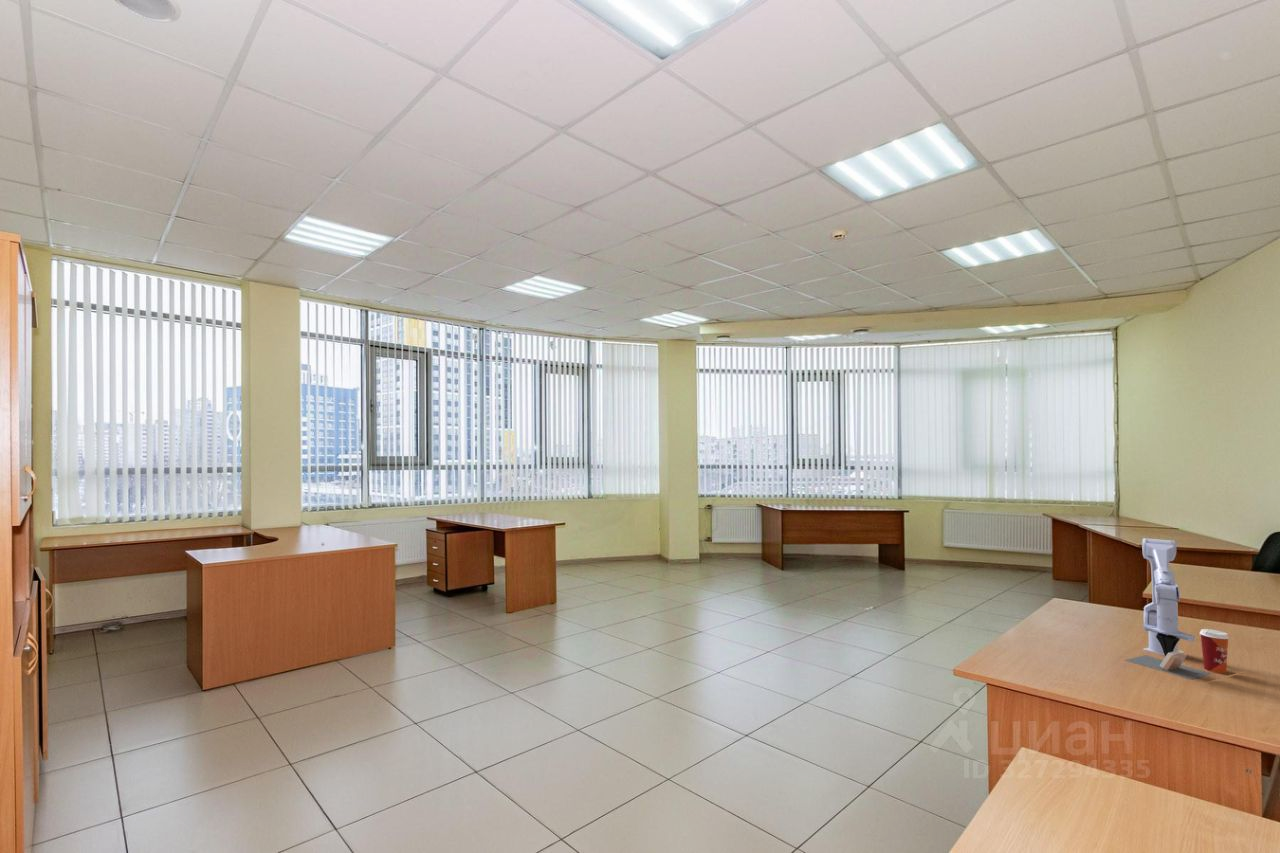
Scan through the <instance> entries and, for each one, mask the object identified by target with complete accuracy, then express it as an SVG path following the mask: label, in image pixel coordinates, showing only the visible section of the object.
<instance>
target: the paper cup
mask: <svg viewBox="0 0 1280 853" xmlns="http://www.w3.org/2000/svg"><path fill="white" fill-rule="evenodd" d="M1199 635H1200V642H1201V651H1202V660H1203V669H1204V670H1206V671H1207V672H1208V671H1209V672H1211V673H1218V674H1226V673H1227V665H1228V646H1229V645H1228V644H1229V639H1230V637H1229V635H1228V633H1227V632H1225V631H1221V630H1218V629H1217V630H1215V629H1210V628H1209V629H1208V628H1202V629H1200V632H1199Z"/></svg>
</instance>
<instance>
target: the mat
mask: <svg viewBox="0 0 1280 853" xmlns="http://www.w3.org/2000/svg"><path fill="white" fill-rule="evenodd" d="M1163 660H1164V659H1161V658H1157V657H1154V656H1149V655H1145V654H1144V655H1140V656H1137V657H1131V658H1128V659H1124V662H1129V663H1133V664H1136V665H1139V666H1142V667H1146V668H1150V669H1153V670H1155V671H1160V672H1163V673H1166V674H1171V675H1174V676H1177V677H1180V678H1184V679H1188V680H1190V681H1191V680H1195V679H1200V678H1202V677H1206V676H1209V675H1213V672H1210V671H1209V672H1208V671H1205V670H1201V669H1197V668H1194V667H1190V666H1187V665H1182V664H1181V665H1180V667H1179V668H1176V669H1172V670H1168V671H1166V670H1165V669H1163V668H1162V667H1160V664H1161V663H1162V661H1163Z"/></svg>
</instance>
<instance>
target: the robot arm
mask: <svg viewBox="0 0 1280 853" xmlns="http://www.w3.org/2000/svg"><path fill="white" fill-rule="evenodd" d="M1141 540H1142V541H1141V547H1142V548H1141V549H1142V556H1143V559H1145V560H1147V561H1149V565H1150V570H1151V571H1150V572H1151V573H1150V574H1151V596H1152V597H1151V598H1152V599H1151V600H1152V602H1150V603H1148V604H1146V605H1144V607H1143V613H1142V614H1143V615H1142V616H1143V624H1142V631H1148V636H1147V637H1148V647H1145V648H1143V650H1144V651H1147V652H1151V653H1154V654H1159V655H1162V656H1164V657H1166V655H1167V654H1168V653H1170V652H1174V651H1178V643H1179V642H1180V640H1185V641H1188V642H1195V635H1193V634H1189V633H1186V632H1184V631H1180V630H1179V610H1178V606H1179V604H1178V603H1179V602H1180V600H1181V599H1180V595H1181V594H1180V588H1179V585H1178V583H1177V582H1176V577H1175V572H1174V571H1173V570H1171V569H1170V563H1171V562H1174V560H1175V558H1176V556H1177V542H1176V541H1175V540H1174V539H1172V540H1170V539H1169V540H1168V539H1160V538H1159V539H1157V538H1146V537H1143V538H1142V539H1141Z"/></svg>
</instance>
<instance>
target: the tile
mask: <svg viewBox="0 0 1280 853" xmlns="http://www.w3.org/2000/svg"><path fill="white" fill-rule="evenodd" d="M1187 656H1188V654H1187V653H1186V652H1184V651H1182V650H1181V649H1179V650H1178V651H1174V652H1170V653H1168V654H1167V655H1166V656H1164V657H1163V659H1162V660H1163V661H1162V663H1161V664H1160V667H1162V668H1163V669H1165V670H1166V671H1168V670H1172V669H1176V668H1179V667H1180V665H1182V663H1183V662H1184V660H1186V658H1187Z"/></svg>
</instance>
